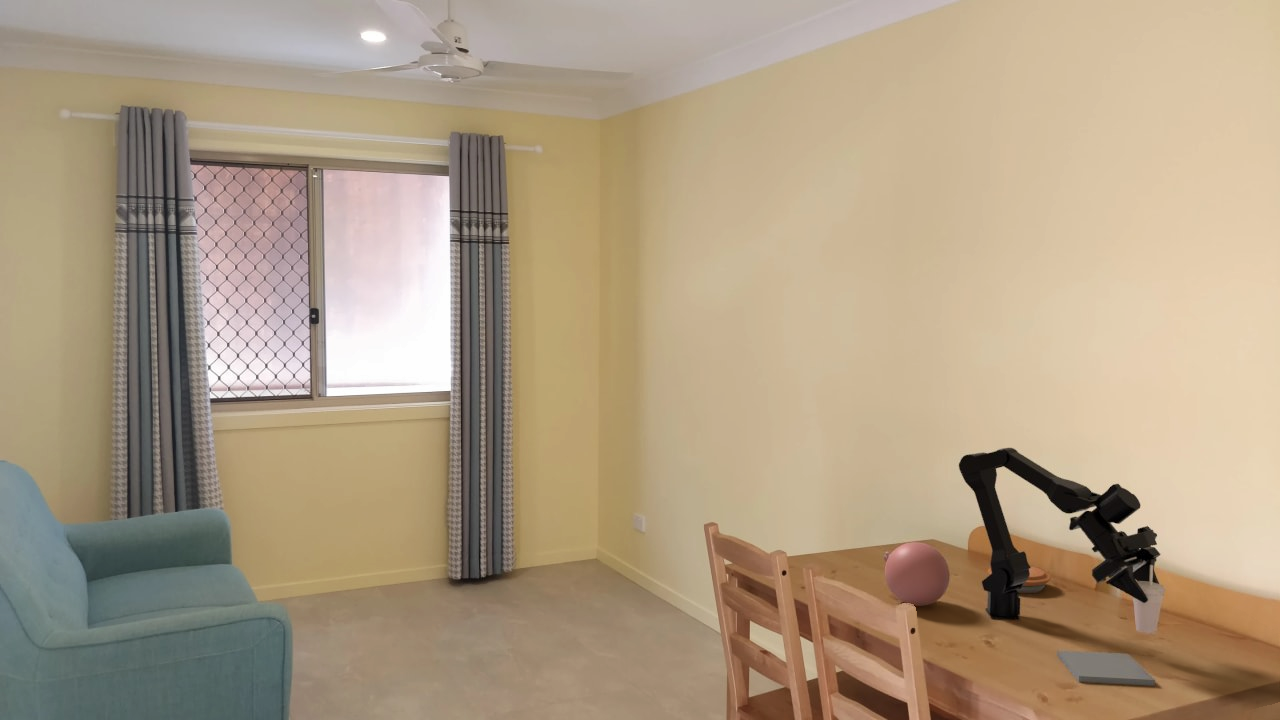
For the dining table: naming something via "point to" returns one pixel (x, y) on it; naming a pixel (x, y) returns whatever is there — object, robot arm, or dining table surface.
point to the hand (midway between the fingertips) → (1154, 599)
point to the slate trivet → (1105, 668)
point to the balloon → (916, 573)
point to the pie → (1033, 580)
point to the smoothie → (1148, 605)
